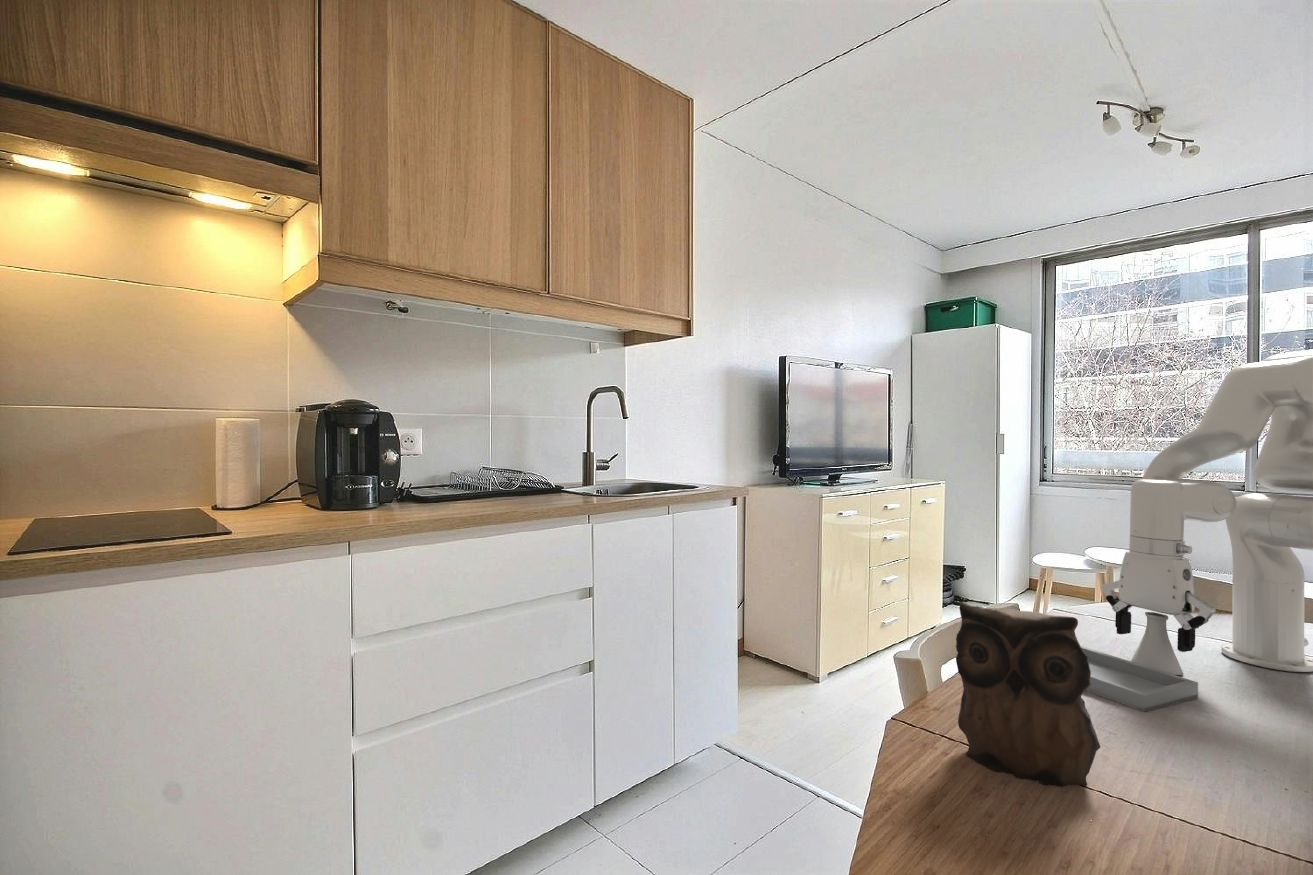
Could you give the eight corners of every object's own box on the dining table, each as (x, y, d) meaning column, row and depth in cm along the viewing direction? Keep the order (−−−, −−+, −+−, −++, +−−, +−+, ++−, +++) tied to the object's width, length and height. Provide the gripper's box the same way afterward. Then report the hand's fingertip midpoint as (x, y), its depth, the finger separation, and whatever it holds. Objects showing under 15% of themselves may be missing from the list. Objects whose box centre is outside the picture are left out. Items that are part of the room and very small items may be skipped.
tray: (1071, 655, 114) (1071, 642, 114) (1197, 697, 95) (1197, 682, 95) (1020, 665, 109) (1020, 651, 109) (1144, 711, 90) (1144, 695, 90)
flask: (1193, 678, 103) (1193, 621, 104) (1145, 675, 105) (1146, 618, 105) (1166, 663, 111) (1166, 610, 111) (1122, 660, 112) (1122, 607, 112)
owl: (1105, 791, 70) (1105, 620, 70) (1003, 795, 68) (1004, 622, 69) (1028, 737, 82) (1029, 593, 82) (941, 740, 81) (942, 594, 81)
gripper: (1227, 555, 101) (1224, 656, 101) (1116, 539, 117) (1114, 625, 117) (1202, 557, 98) (1199, 660, 98) (1092, 540, 114) (1089, 629, 114)
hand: (1153, 641), depth 108 cm, fingers open, 9 cm apart
